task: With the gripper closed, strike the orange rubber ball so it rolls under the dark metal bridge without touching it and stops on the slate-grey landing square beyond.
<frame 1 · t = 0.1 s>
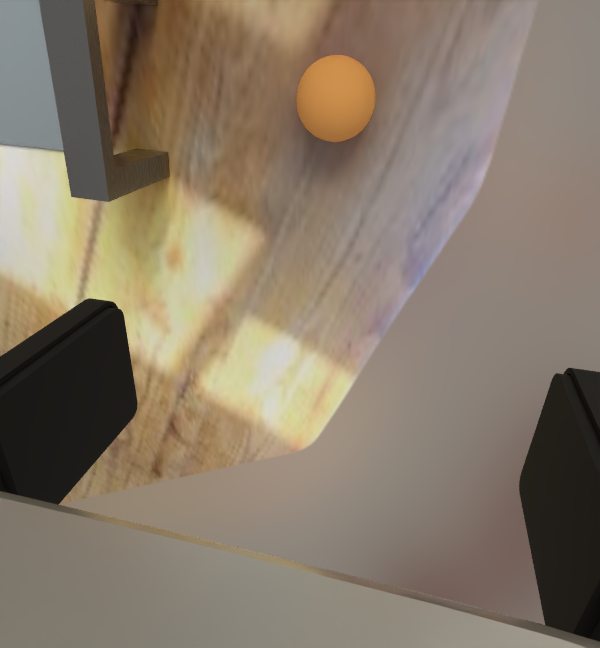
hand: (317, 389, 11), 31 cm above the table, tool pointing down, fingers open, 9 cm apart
bridge: (145, 82, 39), on the table
ball: (335, 99, 34), on the table
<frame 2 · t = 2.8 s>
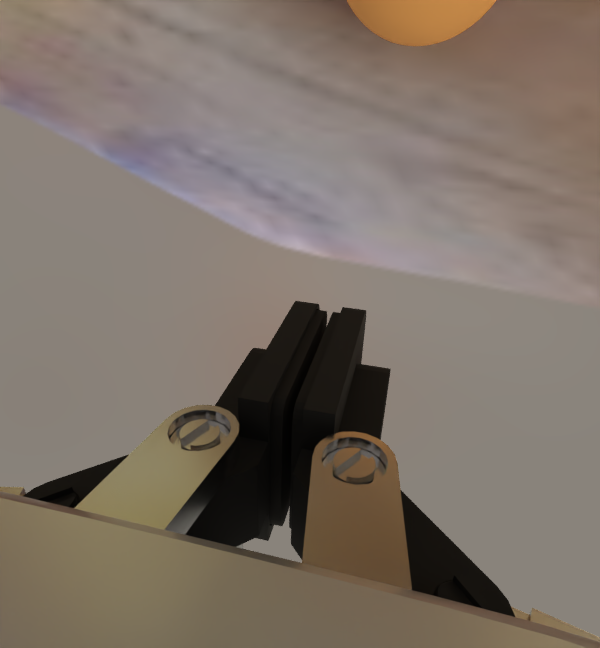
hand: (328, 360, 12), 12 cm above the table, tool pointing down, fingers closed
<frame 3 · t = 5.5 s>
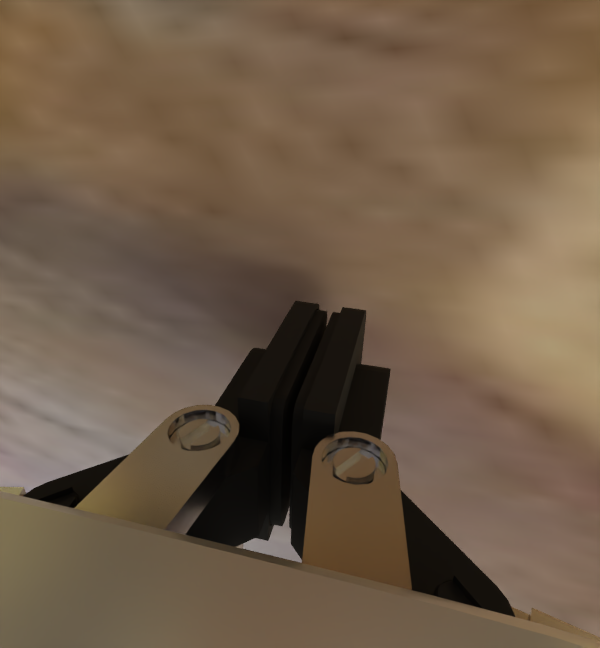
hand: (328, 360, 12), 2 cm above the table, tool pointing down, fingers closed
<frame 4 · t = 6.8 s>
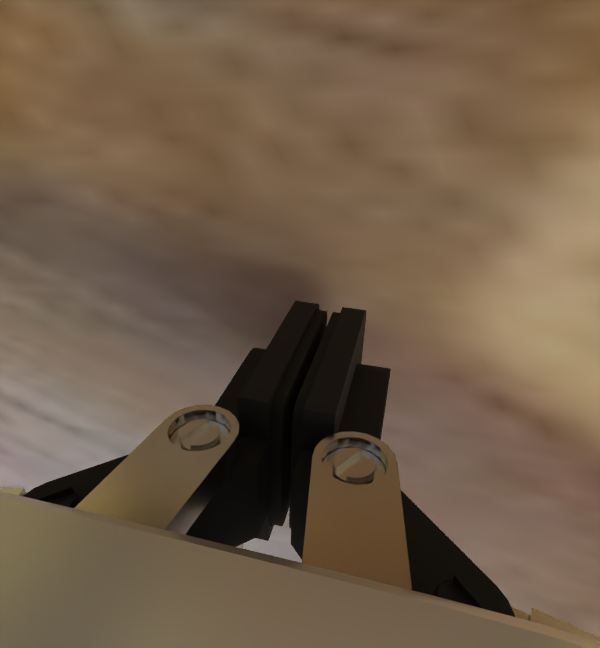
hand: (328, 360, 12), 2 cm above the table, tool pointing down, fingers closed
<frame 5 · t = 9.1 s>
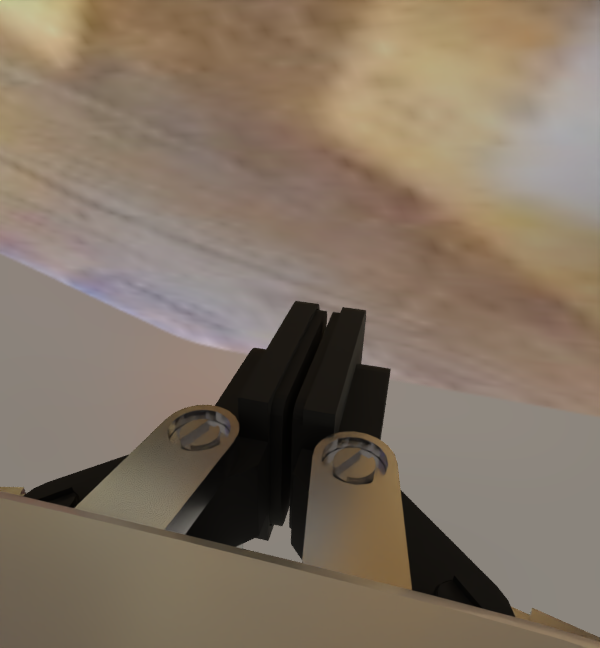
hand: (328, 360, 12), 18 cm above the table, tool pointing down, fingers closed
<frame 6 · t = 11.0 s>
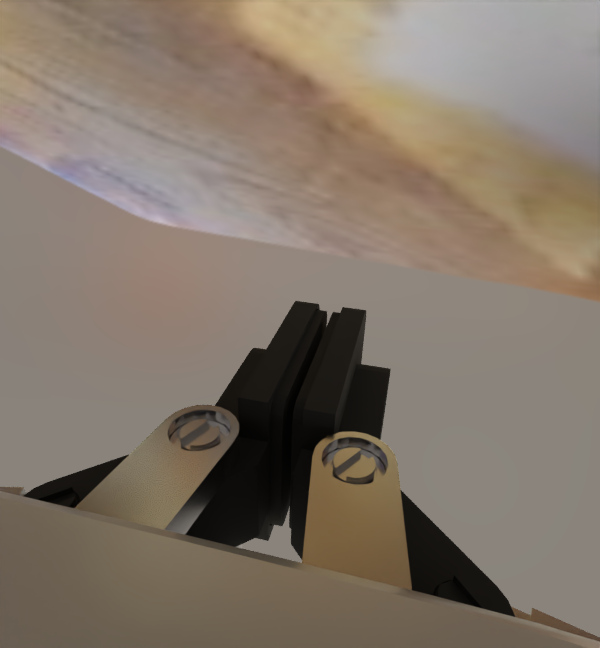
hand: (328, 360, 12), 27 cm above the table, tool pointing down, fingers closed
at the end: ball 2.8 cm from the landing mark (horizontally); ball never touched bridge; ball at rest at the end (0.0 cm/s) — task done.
